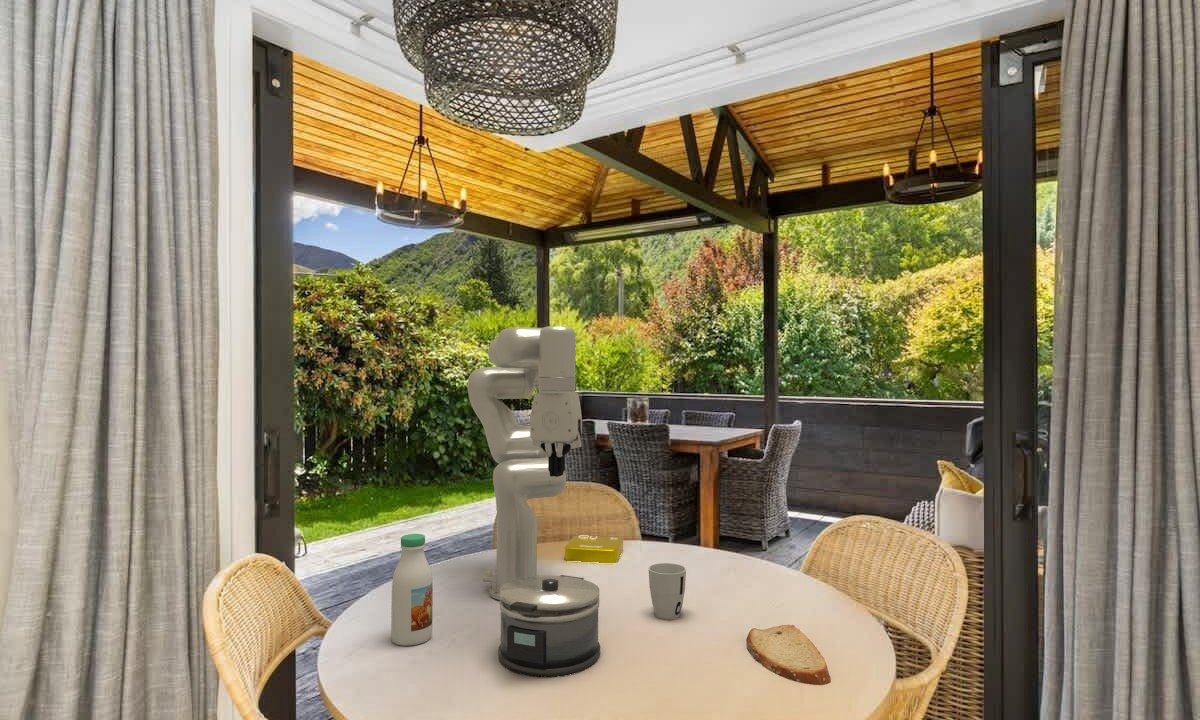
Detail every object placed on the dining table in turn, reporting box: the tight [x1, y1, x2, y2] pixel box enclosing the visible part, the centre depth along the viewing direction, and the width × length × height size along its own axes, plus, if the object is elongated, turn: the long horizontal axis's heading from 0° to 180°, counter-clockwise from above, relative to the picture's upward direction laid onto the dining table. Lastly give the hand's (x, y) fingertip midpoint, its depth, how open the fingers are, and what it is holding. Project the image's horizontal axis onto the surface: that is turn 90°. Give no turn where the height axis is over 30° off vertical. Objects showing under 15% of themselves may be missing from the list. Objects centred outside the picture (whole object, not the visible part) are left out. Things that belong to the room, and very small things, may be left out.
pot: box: [497, 598, 601, 678], centre depth 119 cm, size 19×22×10 cm
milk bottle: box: [390, 533, 434, 647], centre depth 125 cm, size 8×8×20 cm
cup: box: [648, 562, 687, 620], centre depth 138 cm, size 8×8×10 cm
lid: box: [500, 574, 600, 613], centre depth 118 cm, size 18×21×3 cm
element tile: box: [564, 534, 624, 564], centre depth 184 cm, size 15×15×5 cm
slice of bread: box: [745, 624, 831, 686], centre depth 117 cm, size 18×18×4 cm
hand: (556, 475), depth 131 cm, fingers closed
